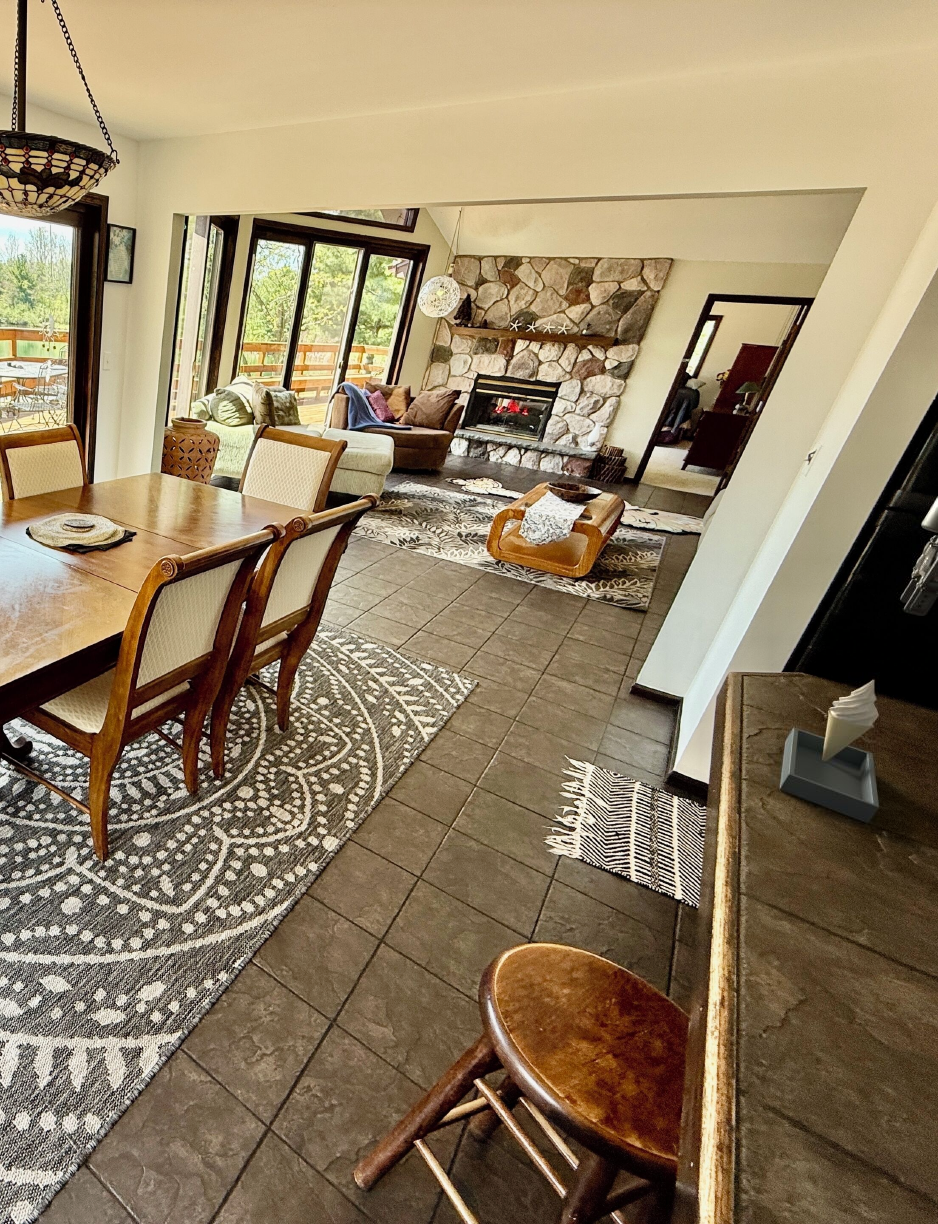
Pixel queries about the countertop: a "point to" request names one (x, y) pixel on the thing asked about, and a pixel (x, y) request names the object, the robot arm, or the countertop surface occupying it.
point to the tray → (830, 776)
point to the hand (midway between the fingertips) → (911, 608)
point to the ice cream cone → (849, 719)
